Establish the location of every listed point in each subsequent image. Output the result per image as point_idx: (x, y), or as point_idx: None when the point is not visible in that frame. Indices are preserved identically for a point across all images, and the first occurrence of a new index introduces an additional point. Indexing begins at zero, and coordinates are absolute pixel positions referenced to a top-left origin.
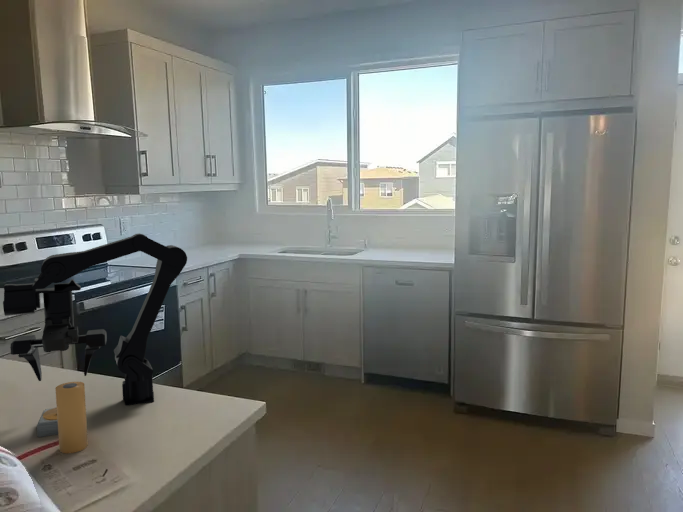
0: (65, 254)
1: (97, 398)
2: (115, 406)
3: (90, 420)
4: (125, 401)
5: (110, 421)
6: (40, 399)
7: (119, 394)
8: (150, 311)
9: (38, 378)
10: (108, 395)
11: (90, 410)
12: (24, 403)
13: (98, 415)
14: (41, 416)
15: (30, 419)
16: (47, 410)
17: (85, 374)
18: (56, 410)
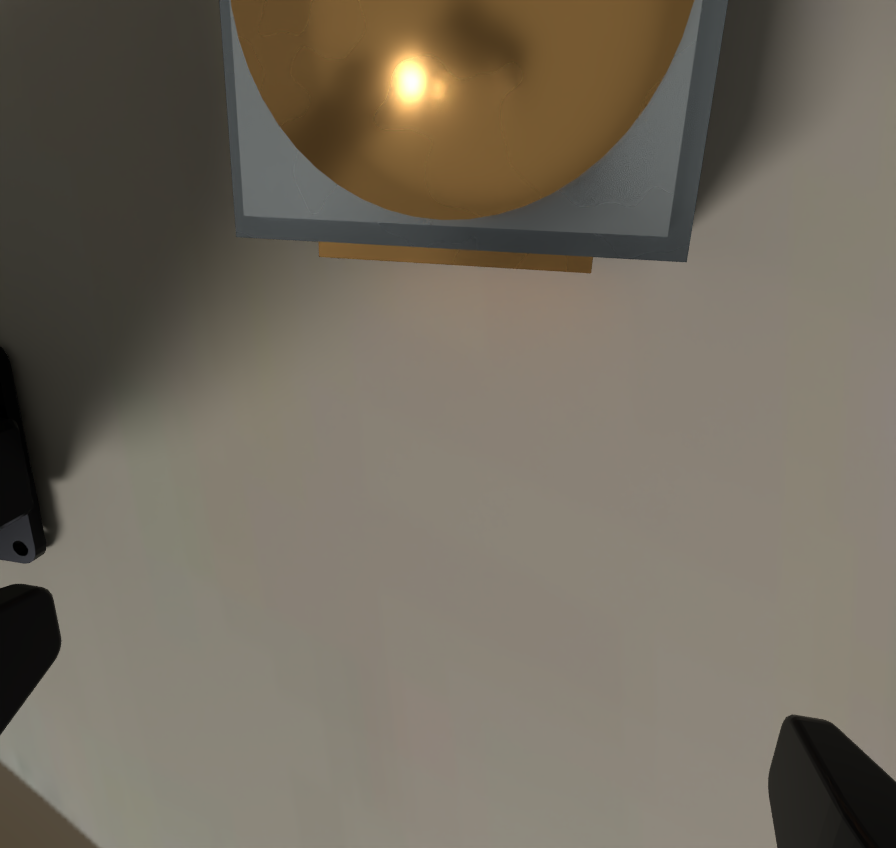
0: None
1: (259, 631)
2: (89, 384)
3: None
4: (2, 408)
5: (54, 3)
6: (705, 838)
7: (112, 629)
8: None
9: (856, 760)
10: (188, 650)
11: (275, 387)
12: None
13: (188, 225)
14: (716, 22)
15: (804, 411)
16: (639, 165)
17: (4, 592)
18: (519, 70)
